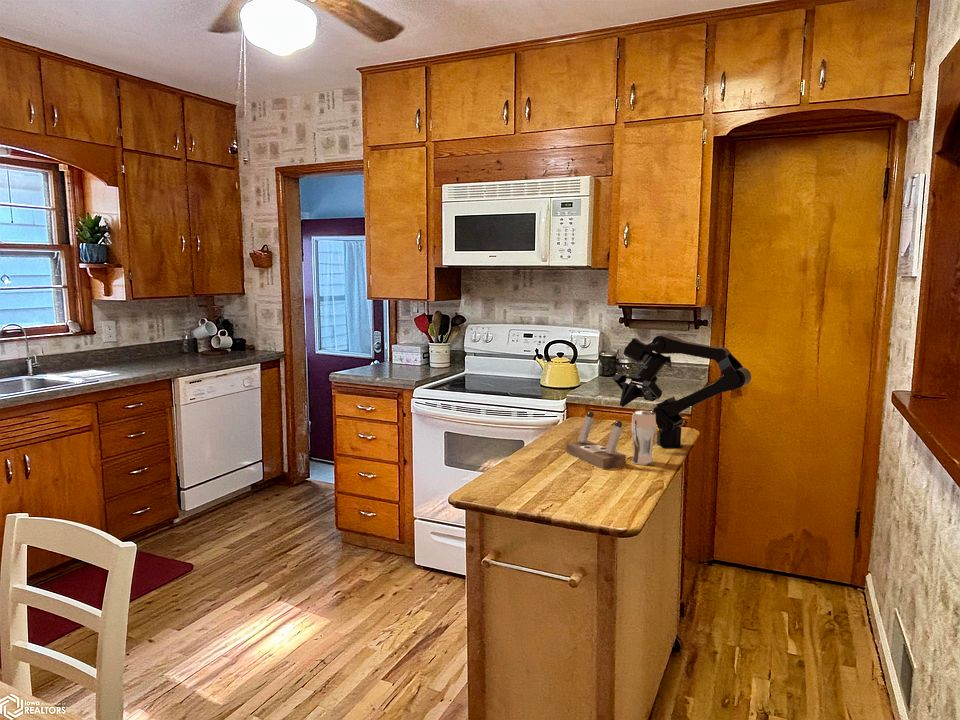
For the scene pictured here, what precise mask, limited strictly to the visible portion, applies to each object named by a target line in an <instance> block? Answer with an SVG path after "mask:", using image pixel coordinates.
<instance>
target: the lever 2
mask: <svg viewBox="0 0 960 720" xmlns="http://www.w3.org/2000/svg"><path fill="white" fill-rule="evenodd" d="M622 431H623V422H622V421H621V420H615V422H614V425H612V427H611V431H610V434H609V437H608V440H607V443H606V449H605V452H608V453H610V454H614V453H615V451H616V450H617V446H618V443H619V440H620V437H621V433H622Z"/></svg>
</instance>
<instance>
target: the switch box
mask: <svg viewBox="0 0 960 720" xmlns="http://www.w3.org/2000/svg"><path fill="white" fill-rule="evenodd" d="M605 449H606V447H605V446H603V445H601V444H598V443H596V442H593V441H591V440H589V439H587V441H586V443H583V442H581V441H572V442H566V447H565V453H566V452H567V454H568V453H569V454H568V455H570V454H571V455H570V456H572V457H575V456H576V457H575V458H577V457H578V458H577V459H579V458H580V459H579V460H582V461H584V462H586V463H589V464H590V465H593V466H595V467H598V468H600V469H602V470H606V469H610V468H611V469H612V468H619V467H625V466H626V465H627V464H626V463H627V462H626V461H627V460H626V459H627V455H626V454H624V453H622V452H621V453H620V452H618V451H616V450H615V453H614V454H610V453H608V452H605Z"/></svg>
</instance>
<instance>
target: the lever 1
mask: <svg viewBox="0 0 960 720" xmlns="http://www.w3.org/2000/svg"><path fill="white" fill-rule="evenodd" d="M594 416H595V414H594V412H593V411H587V413H586V415H585V416H584V418H583V421H582V425H581V428H580V431H579V435H578V437H577V442H579V441H581V442H583V443H586V441H587V440H588V438H589V435H590V431H591V428H592V426H593V422H594Z"/></svg>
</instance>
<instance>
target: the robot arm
mask: <svg viewBox="0 0 960 720" xmlns="http://www.w3.org/2000/svg"><path fill="white" fill-rule="evenodd" d="M667 354H668V355H667ZM669 354H670V355H669ZM671 354H673V355H674V354H680V355H686V356H691V357H698V358H701V359H702V358H703V359H708V360H714V361H715V362H716V363H717V365H718V368H719V370H720V372H721V374H722V376H721V377H719V378H718V379H717V380H716V381H715V382H713V383H711V384H709V385H707V386H704V387H702V388H699V389H698V390H696V391H694V392H692V393H689V394H688V395H686V396H683V397H682V398H679V399H676V398H675V396H672V397H669V398H667V399H665V400H664V401H660V402H658V403H656V406H655V407H654V408H653V409H652V411H653V412H655V413H656V427H657V429H658V430H656V435H657V436H656V444H657V445H659V446H660V447H661V448H663V449H675V448H676V449H677V448H683V447H684V446H683V445H682V444H681V443H682V441H681V439H682V427H681V426H683V424H684V422H685V419H684V418H683V416H682V415H681V414H682V413H683V412H684V411H686V410H687V409H690V408H691V407H693V406H695V405H699V403H702V402H705V401H706V400H709V399H710V398H712V397H714V396H717V395H719V394H721V393H726V392H729V391H733V390H736V389H737V390H738V389H741V388H743V387H745V386H748V384H750V383H751V380H752V374H751V371H749V369H748V368H746V367H744V366H743V365H742V363H741V362H740V361H739V359H737V358H736V357H735V356H734V355H733V354H732V353H731V351H730V349H728V348H727V347H724V346H723V347H719V346H713V345H708V344H703V343H702V344H701V343H697V342H690V341H686V340H683V339H681V338H680V337H678V336H674V335H671V334H669V333H667V334H660V335H656V336H655V337H654V338H653V339H652V342H650V343H648V344H646V343H645V342H643V341H642V340H639V339H638V338H636V337H634V338H632V339H631V341H630V342H628V344H627V345H626V347H625V348H624V350H623V356H624V357H626V358H628V359H629V360H631V361H633V362H635V363H637V366H636V368H637V370H636V372H635V373H634V374H632V373H631V374H630V375H629V376H628V377H627V375H626V374H621V373H615V375H614V376H613V377H612V381H613V382H614V383H615V384H616V385H617V386H618V387H619V389H621V396H620V401H619V406H620V407H622V408H624V407H625V406H627V405H628V404H629V403H631V402H633V401H634V400H636V399H638V398H643V400H645V401H649V402H652V403H653V402H654V401H656V400H660V399H661V396H663V390H662V389H661V387H660V386H659V384H657V383H656V382H657V381H658V377H657V376H658V374H659V373H660V372H661V370H662V369H663V367H664V366H667V367H669V368H672V357H671ZM666 355H667V356H666ZM641 363H642V364H641ZM629 378H630V379H629Z"/></svg>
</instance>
